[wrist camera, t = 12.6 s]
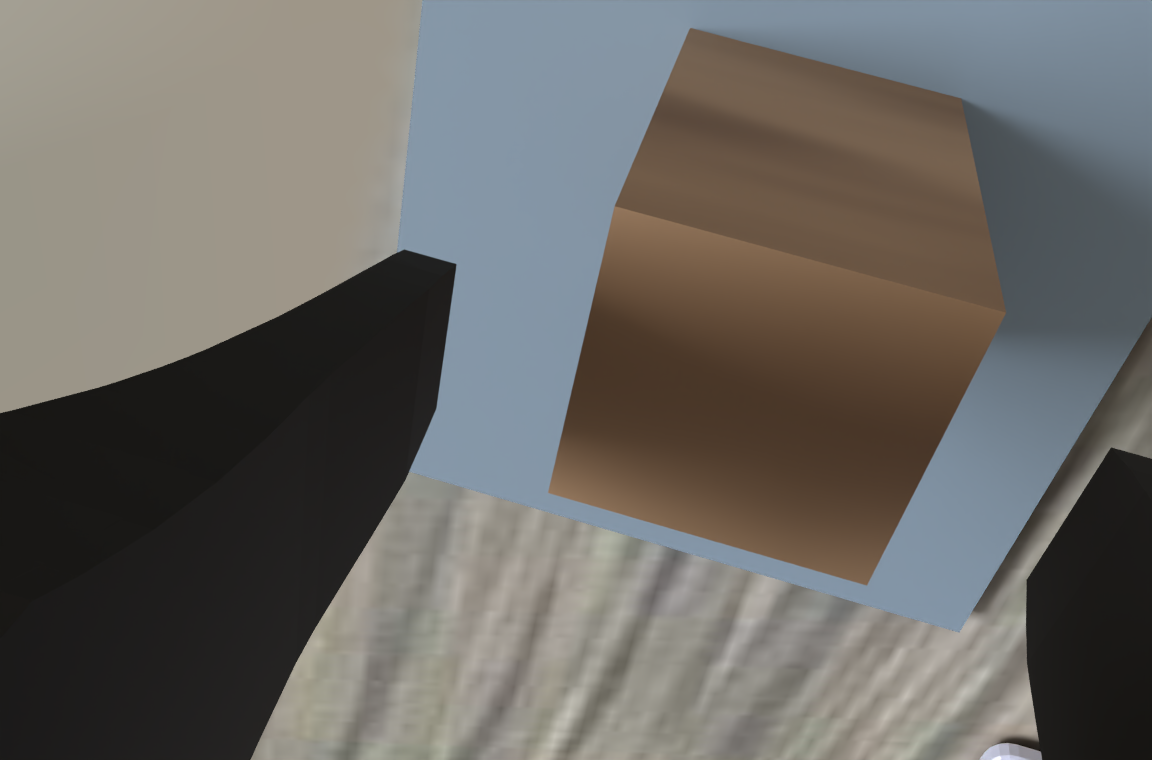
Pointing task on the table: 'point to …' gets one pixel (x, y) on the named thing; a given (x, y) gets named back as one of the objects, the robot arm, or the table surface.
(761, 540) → the walnut block
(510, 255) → the slate mat
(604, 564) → the table surface
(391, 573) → the table surface
